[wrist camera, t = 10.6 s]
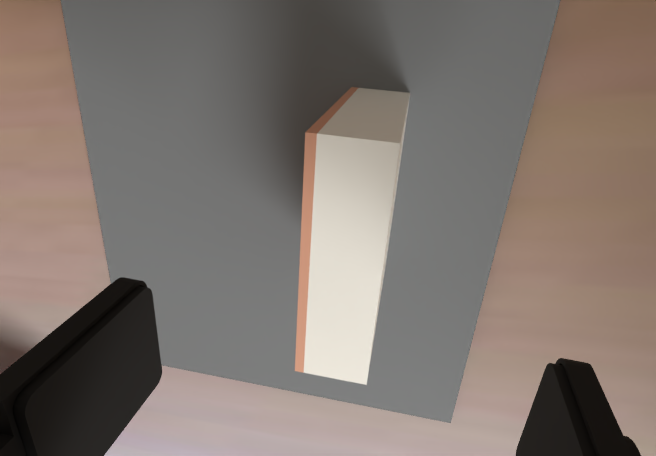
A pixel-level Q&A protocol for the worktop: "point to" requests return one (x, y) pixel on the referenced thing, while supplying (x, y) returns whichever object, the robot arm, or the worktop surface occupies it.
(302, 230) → the tile
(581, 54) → the worktop surface
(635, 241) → the worktop surface
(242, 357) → the mat
